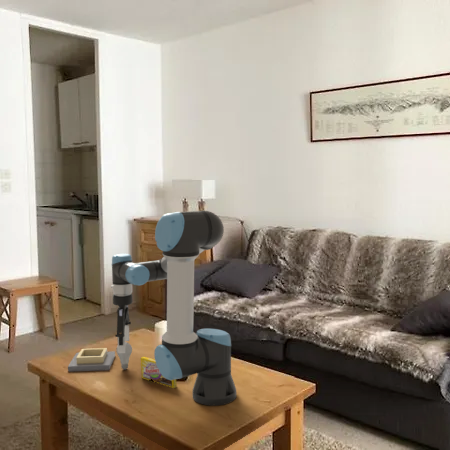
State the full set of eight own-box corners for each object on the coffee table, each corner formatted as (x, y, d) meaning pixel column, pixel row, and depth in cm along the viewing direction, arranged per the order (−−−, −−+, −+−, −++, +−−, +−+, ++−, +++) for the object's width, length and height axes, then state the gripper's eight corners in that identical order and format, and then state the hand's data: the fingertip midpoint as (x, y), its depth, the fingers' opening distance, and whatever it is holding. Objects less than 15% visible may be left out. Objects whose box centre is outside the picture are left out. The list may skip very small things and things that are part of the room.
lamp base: (109, 370, 206) (109, 358, 205) (68, 371, 205) (67, 360, 204) (115, 355, 222) (114, 345, 221) (76, 357, 221) (76, 346, 220)
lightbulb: (134, 366, 209) (133, 340, 208) (130, 372, 203) (129, 345, 202) (119, 366, 209) (118, 339, 208) (114, 372, 203) (114, 344, 202)
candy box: (140, 378, 197) (140, 357, 196) (144, 377, 199) (144, 355, 198) (173, 388, 188) (172, 366, 187) (177, 386, 189) (176, 364, 188)
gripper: (117, 286, 215) (118, 336, 218) (107, 302, 190) (109, 358, 193) (135, 286, 216) (136, 336, 218) (128, 301, 191) (129, 358, 193)
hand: (123, 346), depth 205 cm, fingers open, 13 cm apart
